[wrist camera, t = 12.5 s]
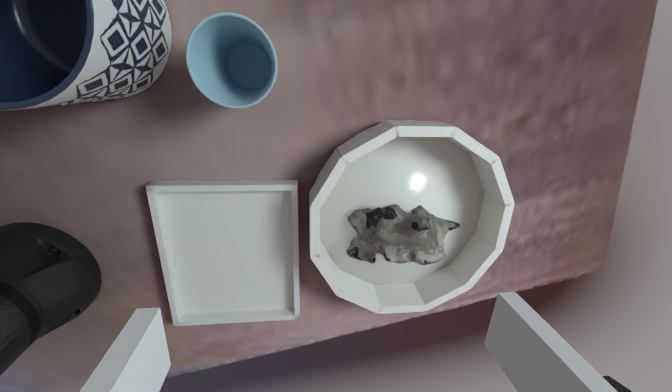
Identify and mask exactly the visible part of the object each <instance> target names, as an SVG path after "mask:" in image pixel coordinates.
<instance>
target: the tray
mask: <svg viewBox="0 0 672 392" xmlns="http://www.w3.org/2000/svg"><path fill="white" fill-rule="evenodd" d="M145 187H146V192H147V196H148V201H149V206H150V211H151V216H152V221H153V226H154V231H155V236H156V241H157V246H158V251H159V256H160V261H161V266H162V271H163V275H164V280H165V285H166V290H167V295H168V300H169V305H170V310H171V315H172V320H173V325H174V326H188V325H205V324H223V323H241V322H259V321H276V320H294V319H300V283H299V227H298V180H218V181H152V182H150V183H149V184H148V185H146V186H145Z"/></svg>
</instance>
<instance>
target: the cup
mask: <svg viewBox="0 0 672 392" xmlns="http://www.w3.org/2000/svg"><path fill="white" fill-rule="evenodd" d="M186 63H187V68H188V71H189V74H190V76H191V78H192V80H193V82H194V84H195V85H196V87H197V88H198V89H199V91H200V92H201V93H202V94H203V95H204V96H206V97H207V98H208V99H209V100H211V101H212V102H214V103H216V104H218V105H220V106H223V107H227V108H232V109H241V108H247V107H251V106H253V105H255V104H257V103H259V102H260V101H262V100H263V99H264V98H265V97H266V96H267V95H268V94H269V92H270V91H271V89H272V87H273V85H274V83H275V80H276V76H277V57H276V52H275V49H274V46H273V44H272V42H271V40H270V38H269V37H268V35H267V34H266V33H265V31H264V30H263V29H262V28H261V27H260V26H259V25H258V24H257V23H255V22H254V21H252V20H251V19H249V18H247V17H245V16H243V15H240V14H236V13H230V12H222V13H216V14H213V15H210V16H208V17H206V18H205V19H203V20H202V21H200V22H199V23H198V24H197V25H196V26H195V28H194V29H193V31H192V32H191V34H190V36H189V39H188V42H187V46H186Z"/></svg>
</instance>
